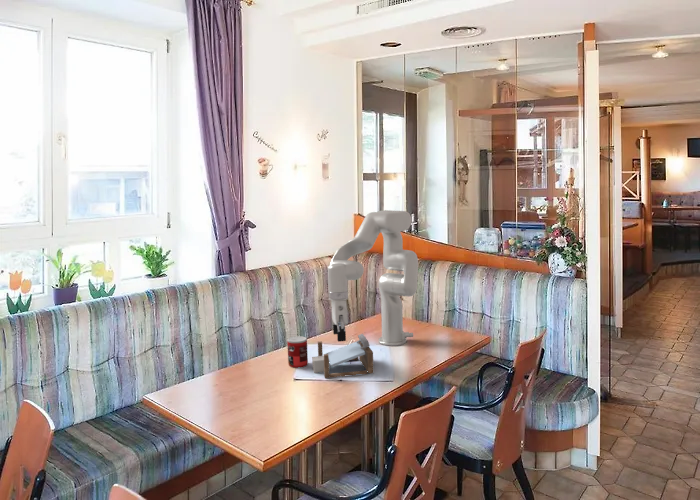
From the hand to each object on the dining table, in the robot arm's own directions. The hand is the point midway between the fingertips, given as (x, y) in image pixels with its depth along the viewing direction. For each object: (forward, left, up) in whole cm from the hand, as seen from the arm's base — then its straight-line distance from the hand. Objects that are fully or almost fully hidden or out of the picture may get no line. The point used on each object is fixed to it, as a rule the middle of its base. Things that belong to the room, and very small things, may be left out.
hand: (339, 337), depth 230 cm
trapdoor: (-3, 0, -7) cm, 8 cm away
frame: (-2, 0, -13) cm, 13 cm away
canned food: (+16, -9, -13) cm, 22 cm away
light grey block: (+5, 0, -10) cm, 11 cm away
